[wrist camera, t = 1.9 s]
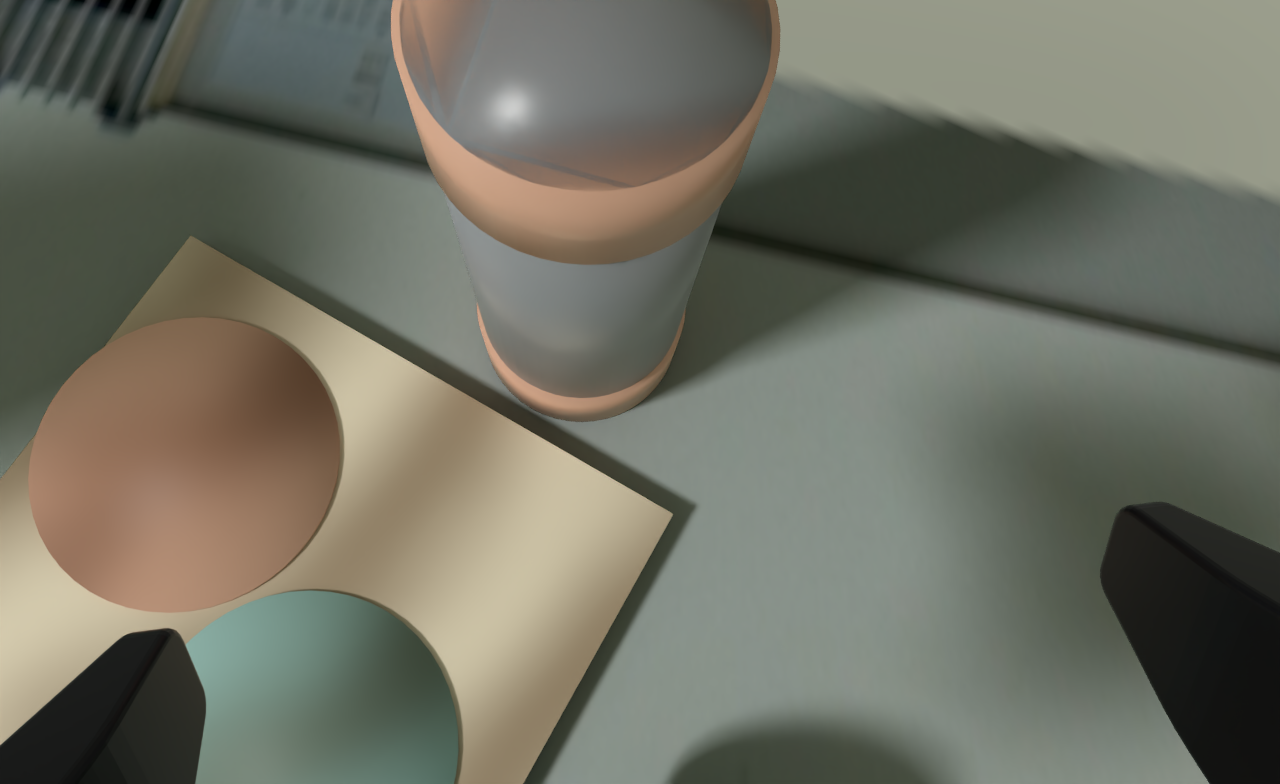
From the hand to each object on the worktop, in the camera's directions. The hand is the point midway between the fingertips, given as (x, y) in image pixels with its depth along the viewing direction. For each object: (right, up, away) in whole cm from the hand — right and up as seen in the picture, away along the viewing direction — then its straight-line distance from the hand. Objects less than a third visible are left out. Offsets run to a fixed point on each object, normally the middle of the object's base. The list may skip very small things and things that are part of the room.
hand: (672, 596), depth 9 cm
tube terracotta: (-2, +4, +14) cm, 15 cm away
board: (-10, -5, +11) cm, 16 cm away
